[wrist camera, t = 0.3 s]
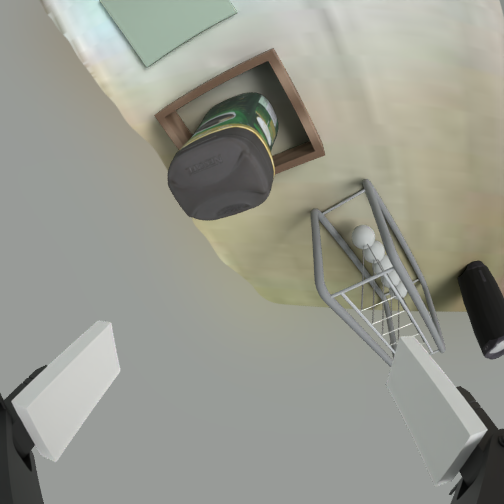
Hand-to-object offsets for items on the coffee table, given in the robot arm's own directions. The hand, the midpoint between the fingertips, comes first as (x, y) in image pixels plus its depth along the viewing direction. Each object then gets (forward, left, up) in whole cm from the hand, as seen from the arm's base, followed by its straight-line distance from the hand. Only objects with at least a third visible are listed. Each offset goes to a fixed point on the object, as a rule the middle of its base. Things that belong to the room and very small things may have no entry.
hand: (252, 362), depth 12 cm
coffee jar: (-1, -5, -34) cm, 35 cm away
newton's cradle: (+29, +6, -34) cm, 45 cm away
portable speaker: (+45, +26, -34) cm, 62 cm away
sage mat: (-22, -5, -34) cm, 41 cm away
